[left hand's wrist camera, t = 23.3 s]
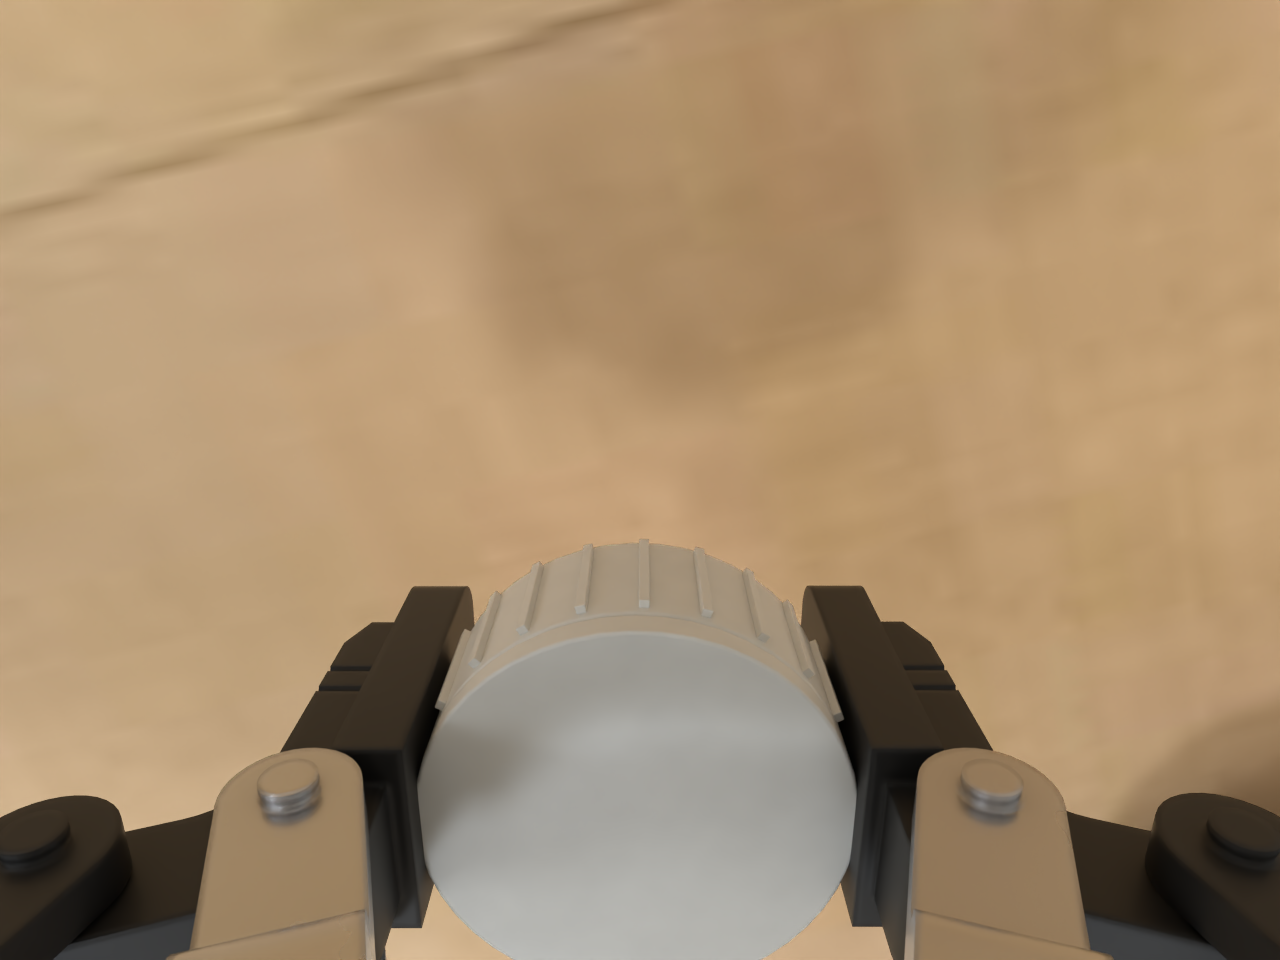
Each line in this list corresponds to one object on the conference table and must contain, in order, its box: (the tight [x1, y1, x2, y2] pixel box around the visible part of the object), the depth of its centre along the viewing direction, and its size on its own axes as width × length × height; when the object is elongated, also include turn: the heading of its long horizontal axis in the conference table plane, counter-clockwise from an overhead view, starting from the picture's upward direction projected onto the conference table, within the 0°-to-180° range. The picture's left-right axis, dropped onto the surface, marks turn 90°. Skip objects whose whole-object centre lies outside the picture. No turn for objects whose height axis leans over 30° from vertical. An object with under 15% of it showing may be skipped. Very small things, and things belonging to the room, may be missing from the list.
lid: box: [417, 539, 857, 960], centre depth 10 cm, size 5×5×2 cm
